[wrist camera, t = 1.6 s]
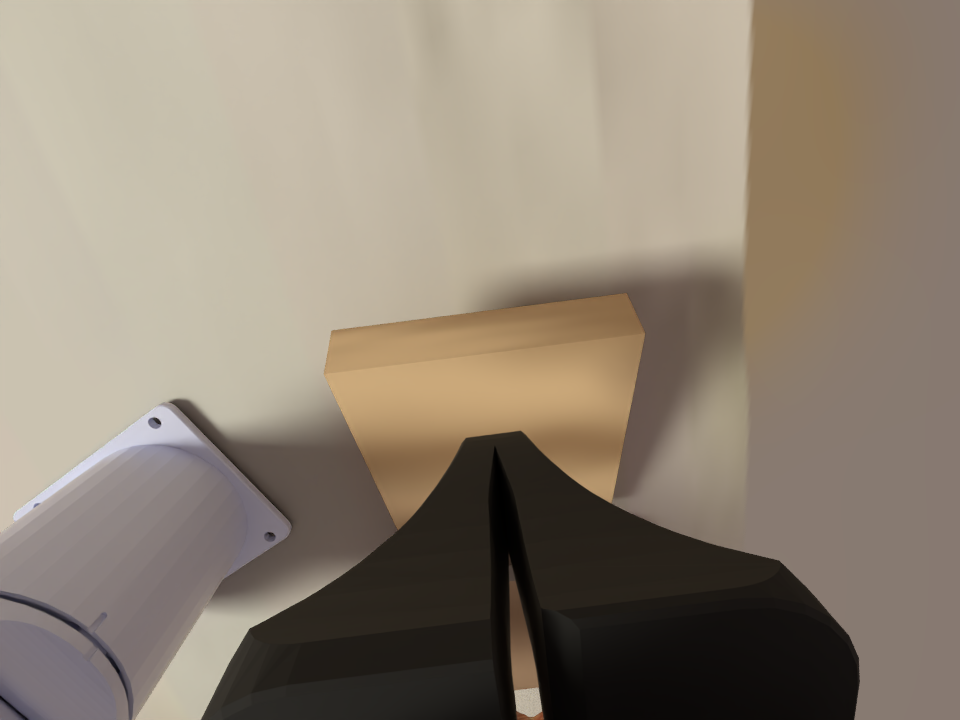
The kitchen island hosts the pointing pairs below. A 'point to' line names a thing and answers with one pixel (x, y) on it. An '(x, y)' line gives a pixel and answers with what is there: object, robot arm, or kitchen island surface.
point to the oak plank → (489, 390)
